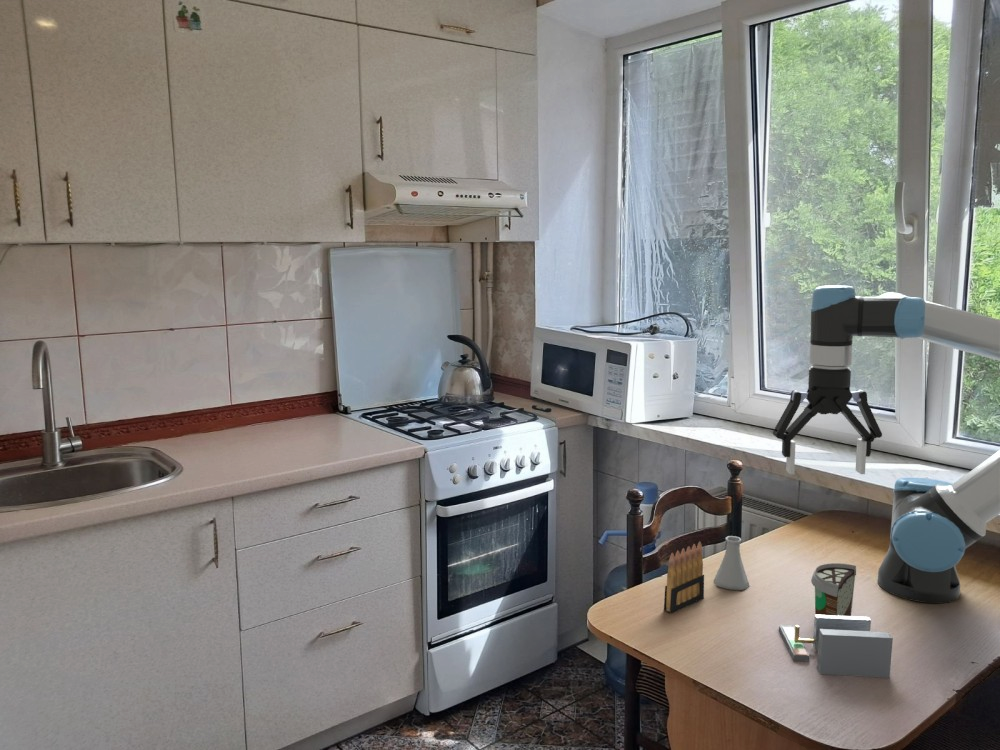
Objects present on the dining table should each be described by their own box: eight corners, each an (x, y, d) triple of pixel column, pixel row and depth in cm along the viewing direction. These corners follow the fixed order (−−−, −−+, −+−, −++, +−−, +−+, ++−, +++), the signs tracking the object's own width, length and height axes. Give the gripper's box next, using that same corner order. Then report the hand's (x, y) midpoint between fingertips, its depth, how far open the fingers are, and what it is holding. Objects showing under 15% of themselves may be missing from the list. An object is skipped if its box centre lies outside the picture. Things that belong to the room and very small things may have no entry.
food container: (820, 605, 158) (823, 557, 156) (853, 613, 154) (856, 564, 153) (799, 628, 149) (802, 577, 147) (833, 638, 145) (837, 586, 143)
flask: (711, 588, 166) (713, 542, 165) (716, 574, 173) (717, 530, 171) (747, 593, 163) (749, 547, 162) (751, 580, 170) (753, 535, 168)
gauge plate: (866, 649, 140) (868, 617, 139) (868, 652, 139) (871, 620, 138) (793, 645, 141) (795, 613, 140) (795, 648, 140) (797, 616, 139)
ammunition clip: (671, 614, 154) (673, 555, 152) (663, 611, 156) (665, 552, 154) (704, 598, 161) (706, 541, 159) (696, 595, 163) (698, 539, 161)
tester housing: (859, 634, 146) (862, 598, 145) (889, 677, 132) (892, 638, 130) (778, 630, 148) (780, 594, 147) (799, 672, 133) (802, 633, 132)
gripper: (887, 362, 158) (881, 467, 161) (759, 364, 159) (755, 467, 162) (904, 368, 150) (898, 477, 154) (770, 369, 151) (766, 478, 155)
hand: (825, 472), depth 158 cm, fingers open, 13 cm apart
